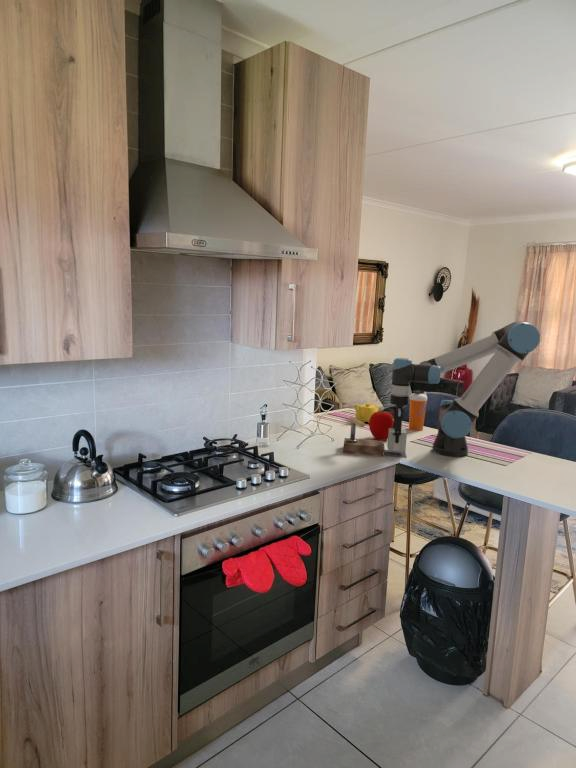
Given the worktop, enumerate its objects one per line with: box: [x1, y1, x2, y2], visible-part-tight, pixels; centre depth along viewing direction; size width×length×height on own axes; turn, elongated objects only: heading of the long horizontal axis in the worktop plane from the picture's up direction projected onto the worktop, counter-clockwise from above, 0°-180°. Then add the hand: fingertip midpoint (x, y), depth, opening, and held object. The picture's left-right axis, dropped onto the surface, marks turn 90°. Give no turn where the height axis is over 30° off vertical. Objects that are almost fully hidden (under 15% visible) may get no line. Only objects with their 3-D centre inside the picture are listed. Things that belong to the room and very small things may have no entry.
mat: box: [384, 449, 408, 459], centre depth 227 cm, size 9×9×1 cm
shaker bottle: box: [408, 389, 428, 432], centre depth 274 cm, size 9×9×20 cm
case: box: [343, 437, 385, 457], centre depth 229 cm, size 17×10×4 cm, turn 82°
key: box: [347, 416, 366, 442], centre depth 225 cm, size 11×4×10 cm, turn 17°
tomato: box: [368, 409, 394, 441], centre depth 250 cm, size 13×11×14 cm
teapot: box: [354, 402, 384, 424], centre depth 287 cm, size 14×13×10 cm
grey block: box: [387, 428, 408, 453], centre depth 226 cm, size 7×7×8 cm
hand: (395, 447), depth 227 cm, fingers closed on grey block, 7 cm apart
